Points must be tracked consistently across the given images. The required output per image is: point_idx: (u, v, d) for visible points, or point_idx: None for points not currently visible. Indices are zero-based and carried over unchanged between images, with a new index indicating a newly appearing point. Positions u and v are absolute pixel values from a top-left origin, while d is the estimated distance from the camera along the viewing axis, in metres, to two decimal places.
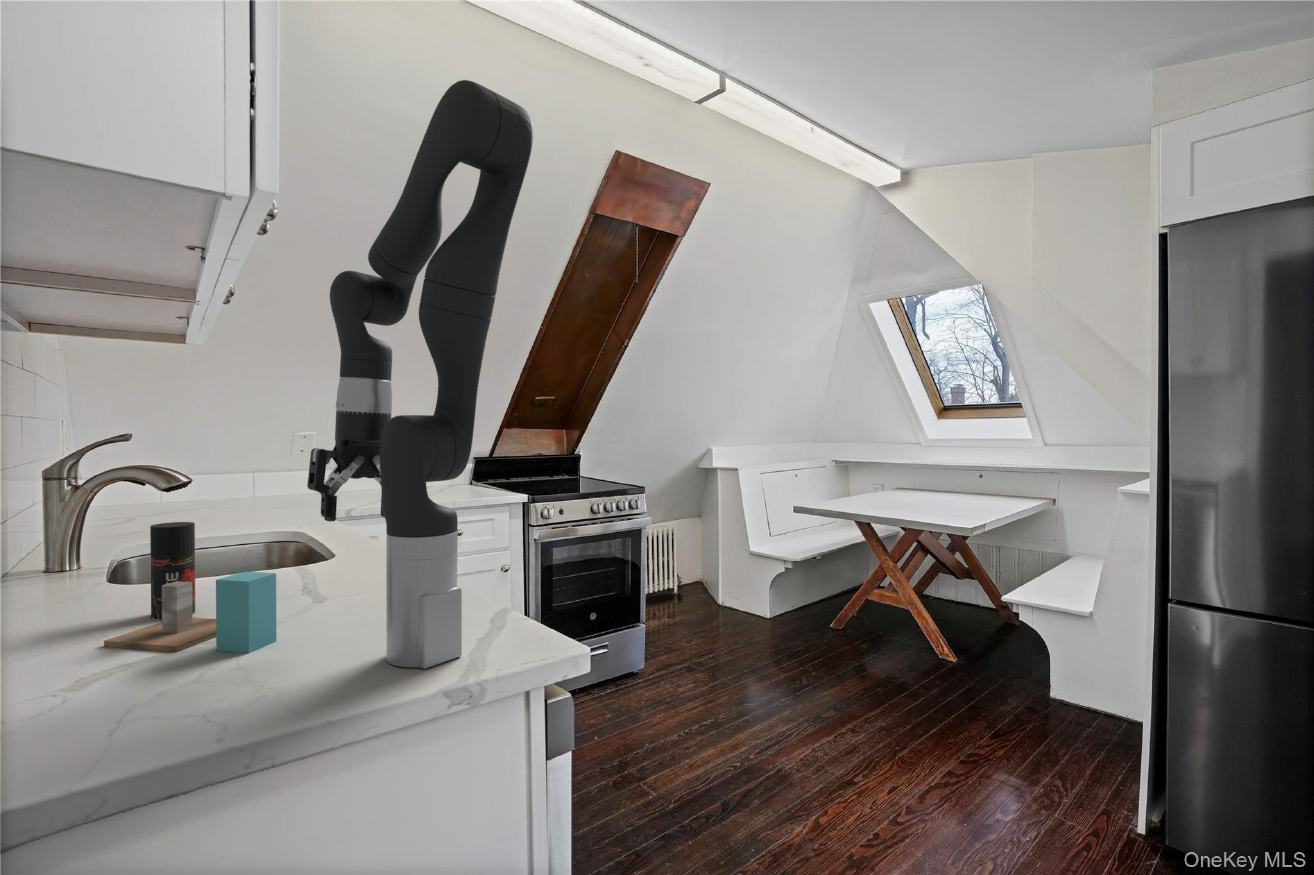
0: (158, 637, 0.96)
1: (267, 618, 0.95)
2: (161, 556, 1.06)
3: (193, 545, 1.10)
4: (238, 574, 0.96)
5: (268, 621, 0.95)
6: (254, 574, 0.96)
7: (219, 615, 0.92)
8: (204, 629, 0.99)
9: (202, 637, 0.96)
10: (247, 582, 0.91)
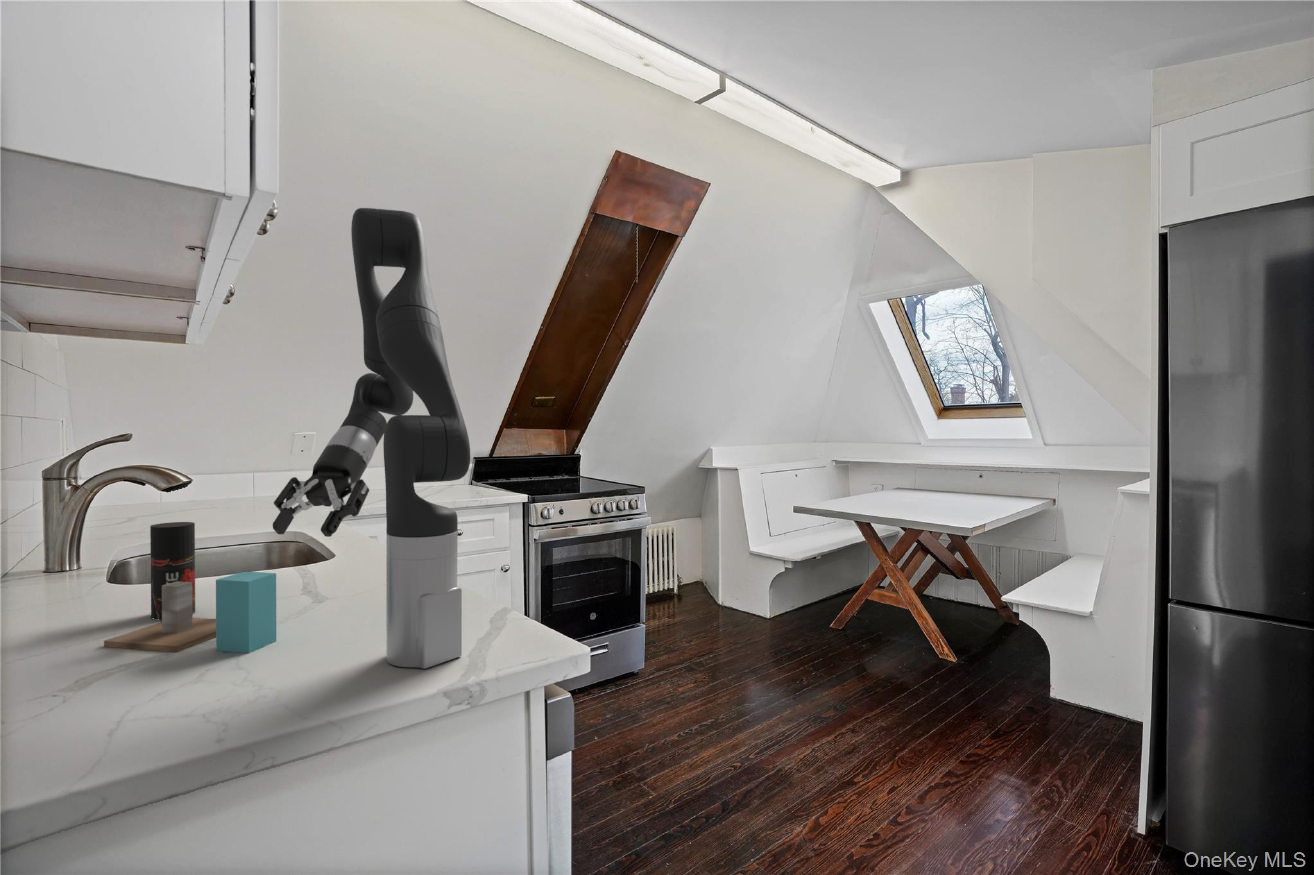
0: (158, 637, 0.96)
1: (267, 618, 0.95)
2: (161, 556, 1.06)
3: (193, 545, 1.10)
4: (238, 574, 0.96)
5: (268, 621, 0.95)
6: (254, 574, 0.96)
7: (219, 615, 0.92)
8: (204, 629, 0.99)
9: (202, 637, 0.96)
10: (247, 582, 0.91)
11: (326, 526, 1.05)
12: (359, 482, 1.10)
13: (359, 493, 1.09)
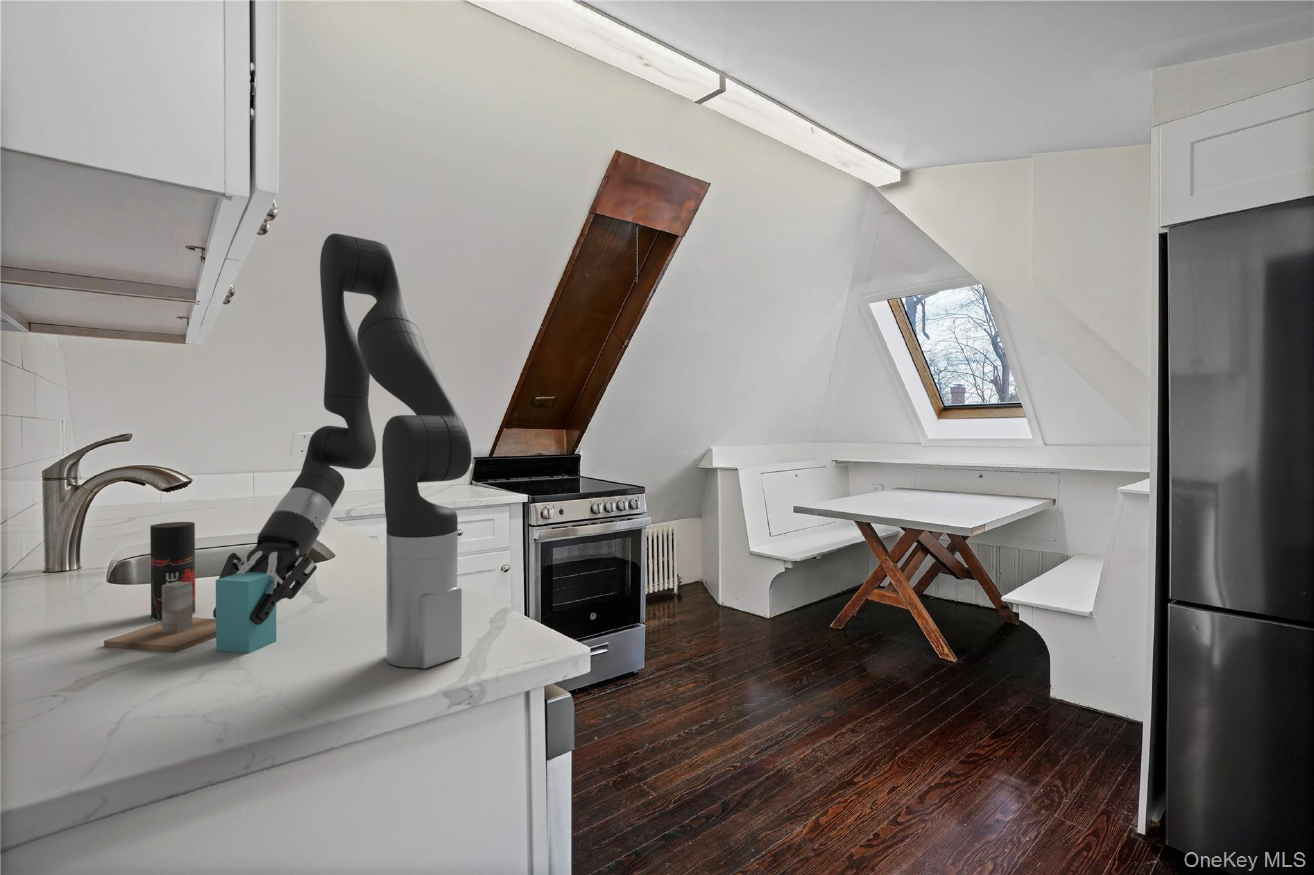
0: (158, 637, 0.96)
1: (267, 618, 0.95)
2: (161, 556, 1.06)
3: (193, 545, 1.10)
4: (238, 574, 0.96)
5: (268, 621, 0.95)
6: (254, 574, 0.96)
7: (219, 615, 0.92)
8: (204, 629, 0.99)
9: (202, 637, 0.96)
10: (247, 582, 0.91)
11: (255, 613, 0.92)
12: (304, 560, 0.97)
13: (300, 574, 0.96)
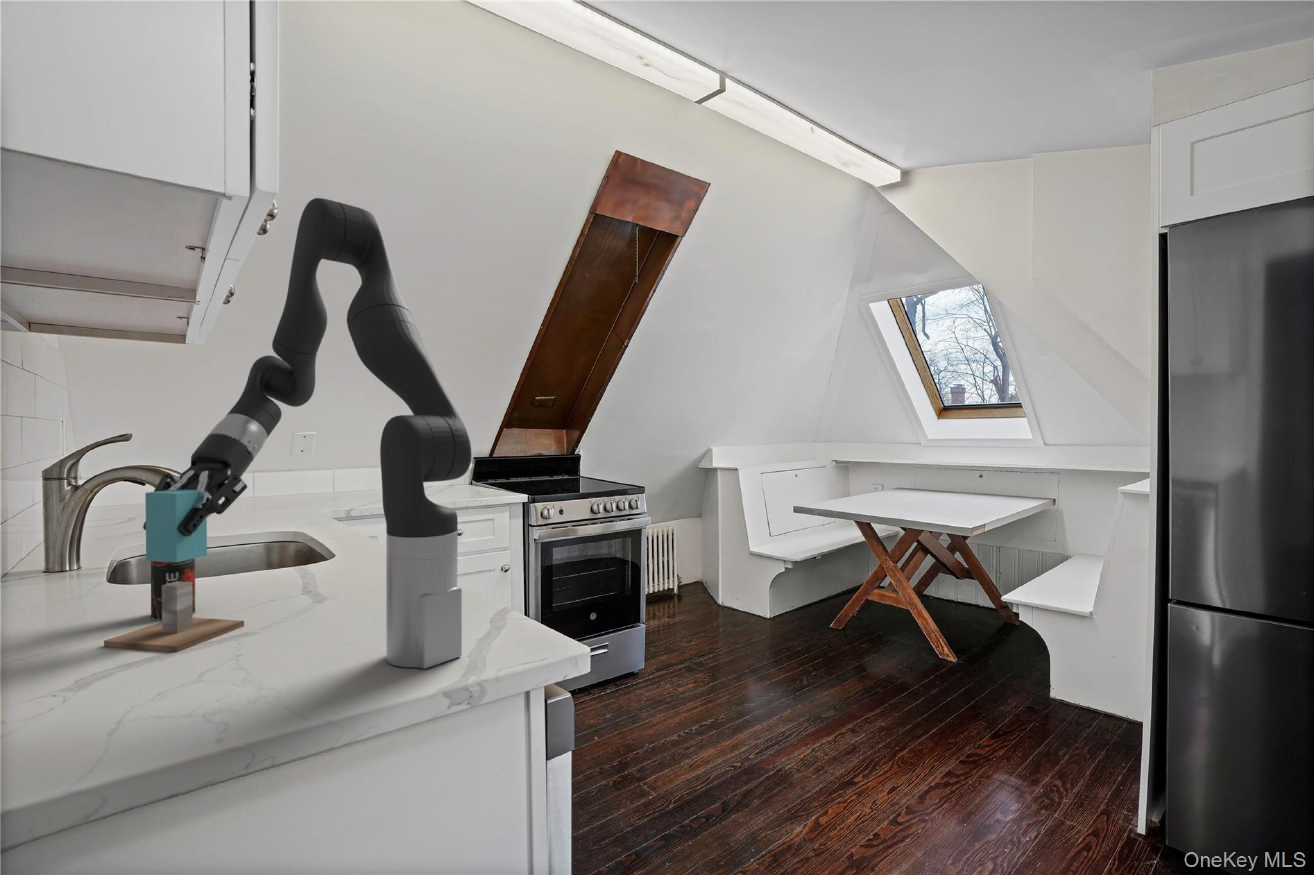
0: (158, 637, 0.96)
1: (197, 532, 0.99)
2: None
3: None
4: (169, 490, 0.99)
5: (198, 535, 0.99)
6: (184, 490, 0.99)
7: (149, 526, 0.96)
8: (204, 629, 0.99)
9: (202, 637, 0.96)
10: (175, 494, 0.95)
11: (183, 525, 0.96)
12: (233, 478, 1.01)
13: (229, 490, 1.00)
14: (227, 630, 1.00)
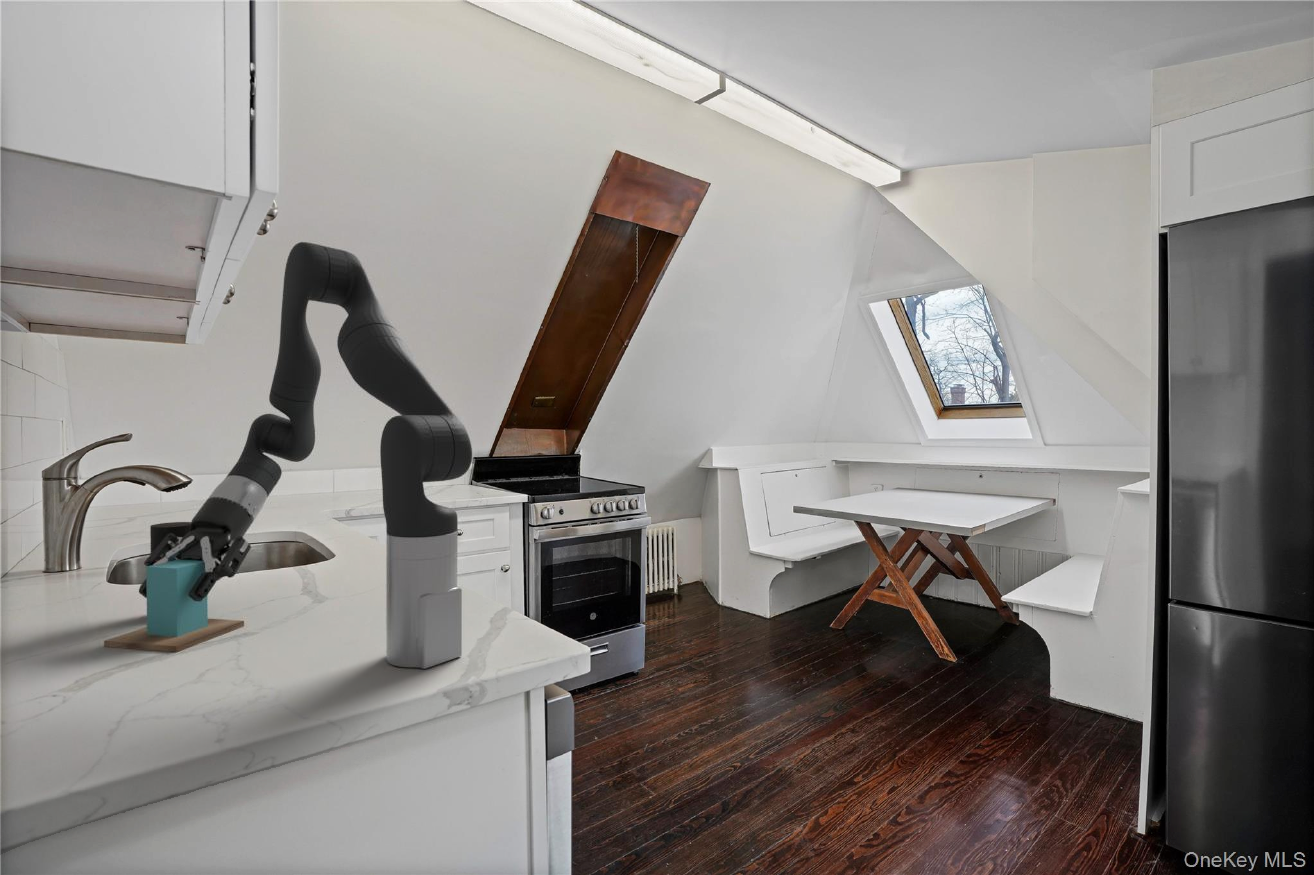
0: (158, 637, 0.96)
1: (197, 604, 0.99)
2: None
3: None
4: (170, 562, 1.00)
5: (198, 607, 0.99)
6: (185, 562, 1.00)
7: (150, 600, 0.96)
8: (204, 629, 0.99)
9: (202, 637, 0.96)
10: (175, 569, 0.96)
11: (195, 590, 0.96)
12: (238, 540, 1.02)
13: (236, 552, 1.01)
14: (227, 630, 1.00)
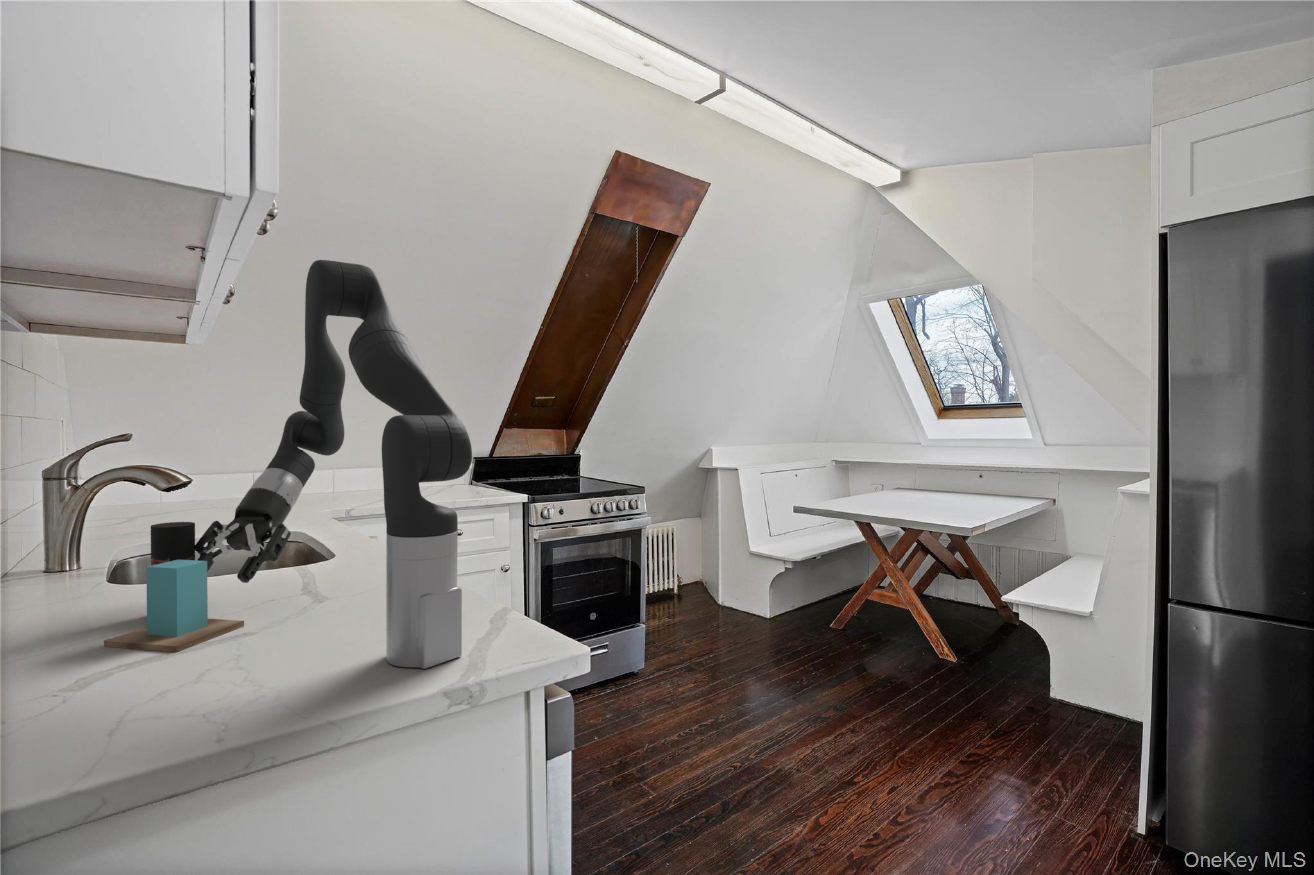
0: (158, 637, 0.96)
1: (197, 604, 0.99)
2: (161, 556, 1.06)
3: (193, 545, 1.10)
4: (170, 562, 1.00)
5: (198, 607, 0.99)
6: (185, 562, 1.00)
7: (150, 600, 0.96)
8: (204, 629, 0.99)
9: (202, 637, 0.96)
10: (175, 569, 0.96)
11: (243, 572, 1.05)
12: (279, 527, 1.11)
13: (279, 538, 1.10)
14: (227, 630, 1.00)
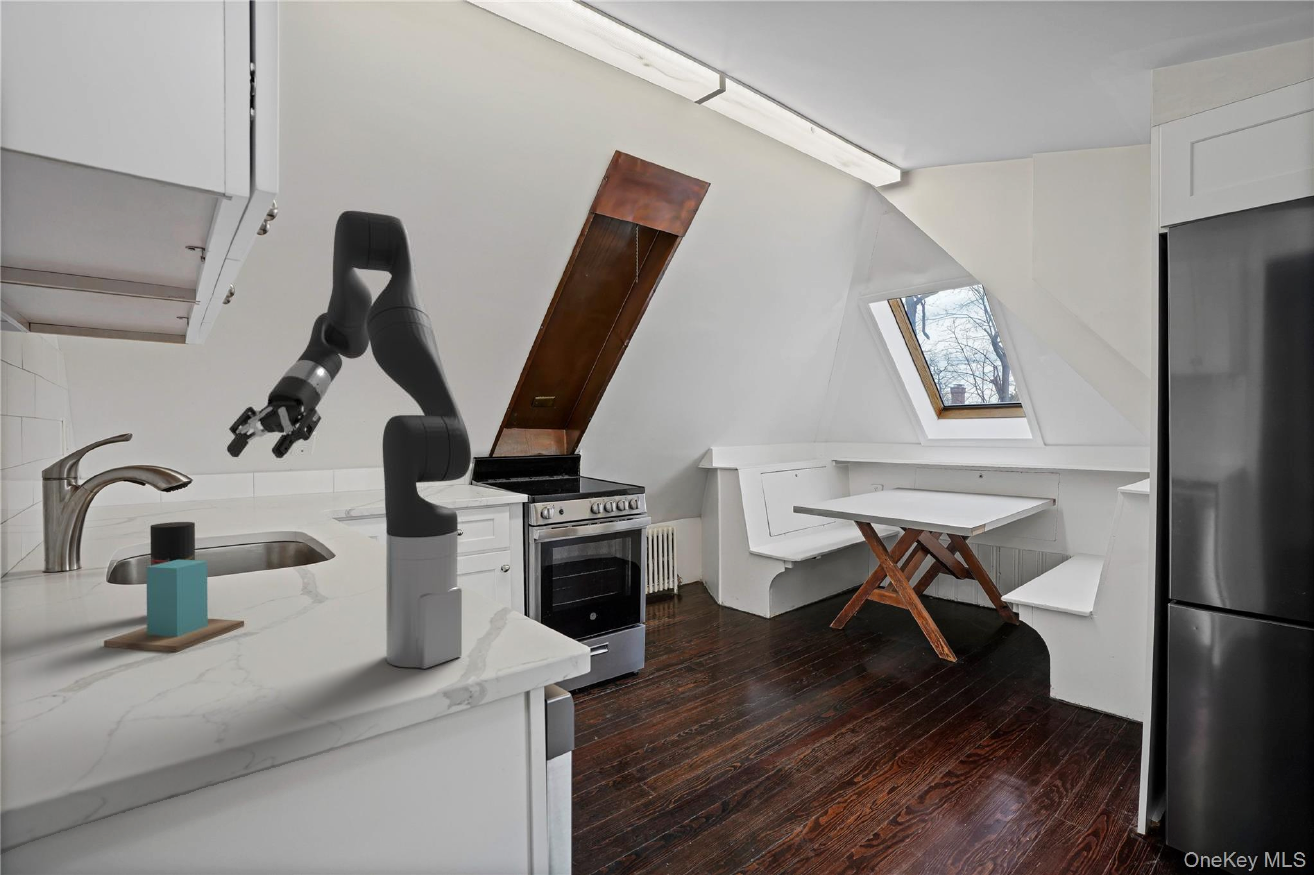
0: (158, 637, 0.96)
1: (197, 604, 0.99)
2: (161, 556, 1.06)
3: (193, 545, 1.10)
4: (170, 562, 1.00)
5: (198, 607, 0.99)
6: (185, 562, 1.00)
7: (150, 600, 0.96)
8: (204, 629, 0.99)
9: (202, 637, 0.96)
10: (175, 569, 0.96)
11: (277, 447, 1.10)
12: (311, 409, 1.16)
13: (310, 419, 1.15)
14: (227, 630, 1.00)
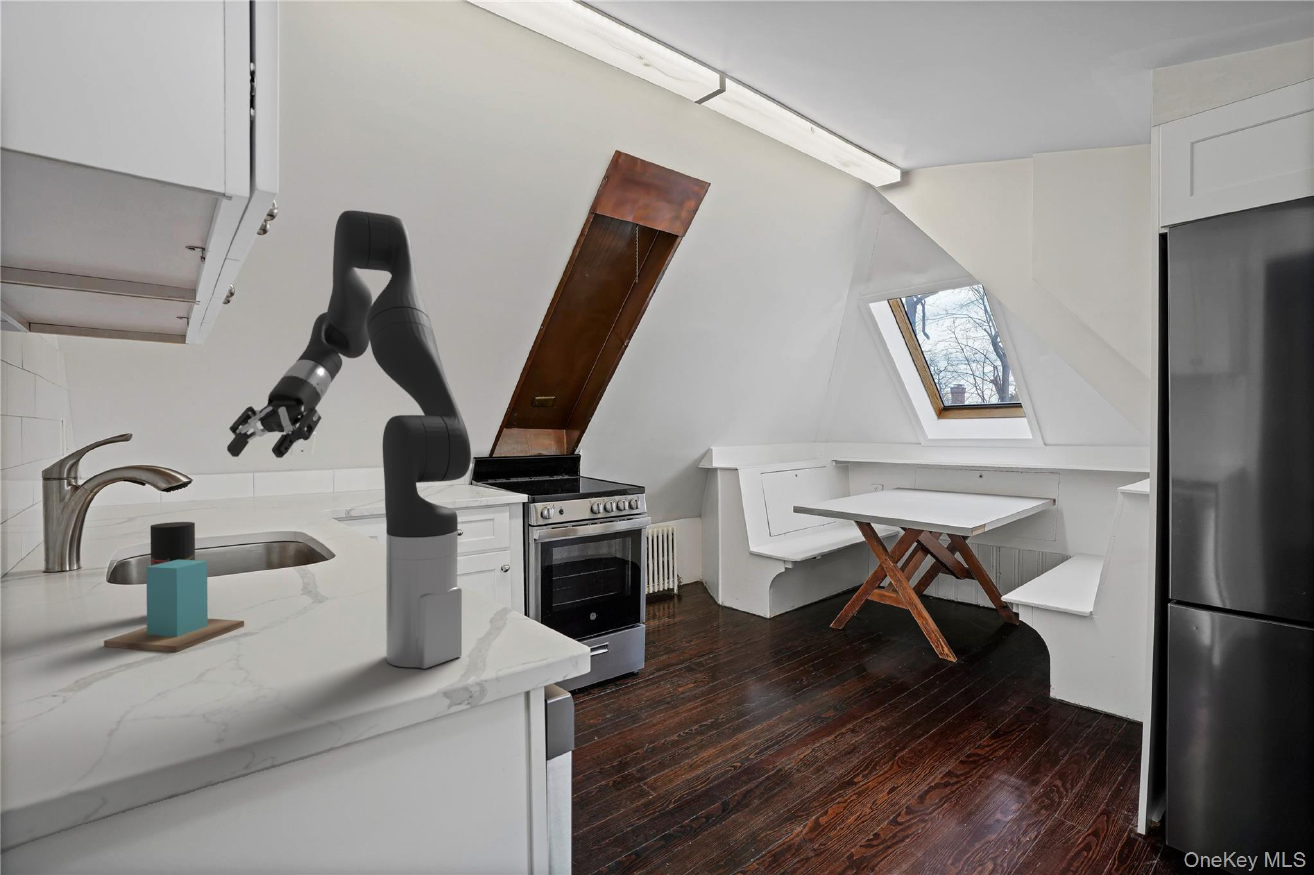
0: (158, 637, 0.96)
1: (197, 604, 0.99)
2: (161, 556, 1.06)
3: (193, 545, 1.10)
4: (170, 562, 1.00)
5: (198, 607, 0.99)
6: (185, 562, 1.00)
7: (150, 600, 0.96)
8: (204, 629, 0.99)
9: (202, 637, 0.96)
10: (175, 569, 0.96)
11: (277, 447, 1.10)
12: (311, 409, 1.16)
13: (310, 419, 1.15)
14: (227, 630, 1.00)
